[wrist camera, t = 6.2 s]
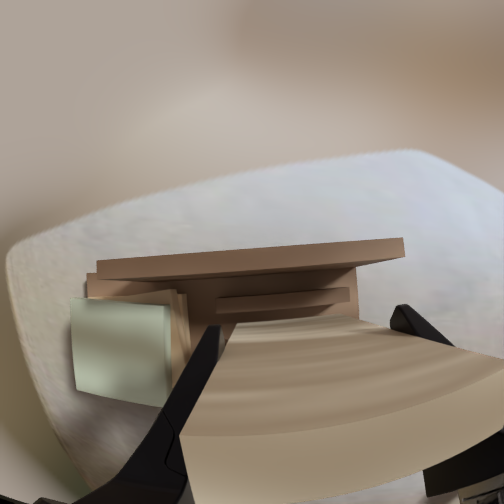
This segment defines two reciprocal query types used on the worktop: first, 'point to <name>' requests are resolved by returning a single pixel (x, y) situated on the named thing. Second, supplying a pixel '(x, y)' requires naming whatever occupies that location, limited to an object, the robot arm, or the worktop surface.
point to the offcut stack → (130, 345)
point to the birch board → (333, 410)
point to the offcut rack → (250, 281)
